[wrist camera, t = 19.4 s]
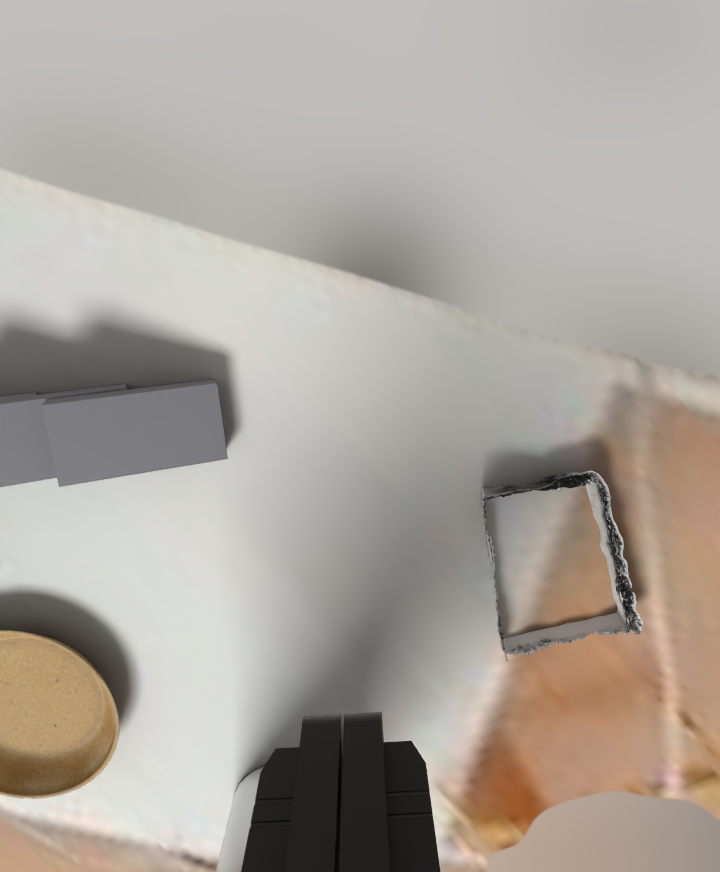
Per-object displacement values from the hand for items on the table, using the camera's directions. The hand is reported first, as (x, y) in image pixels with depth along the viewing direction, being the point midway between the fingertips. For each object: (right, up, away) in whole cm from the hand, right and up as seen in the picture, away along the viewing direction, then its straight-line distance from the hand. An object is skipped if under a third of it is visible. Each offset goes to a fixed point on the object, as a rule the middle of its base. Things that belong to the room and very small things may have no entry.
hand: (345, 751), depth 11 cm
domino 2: (-9, +7, +27) cm, 30 cm away
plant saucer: (-25, -14, +35) cm, 45 cm away
